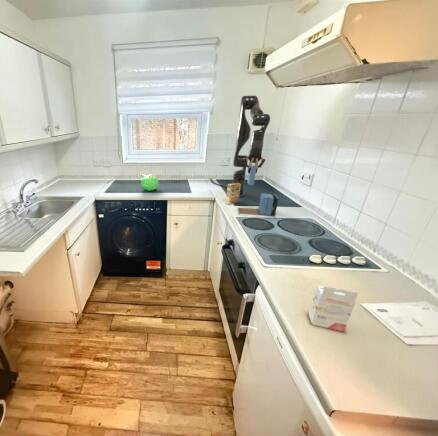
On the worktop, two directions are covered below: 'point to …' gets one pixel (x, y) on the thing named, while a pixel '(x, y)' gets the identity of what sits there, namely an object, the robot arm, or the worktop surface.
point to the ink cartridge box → (332, 307)
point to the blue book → (252, 175)
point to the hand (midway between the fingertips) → (252, 173)
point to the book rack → (255, 211)
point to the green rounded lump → (149, 182)
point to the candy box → (233, 193)
